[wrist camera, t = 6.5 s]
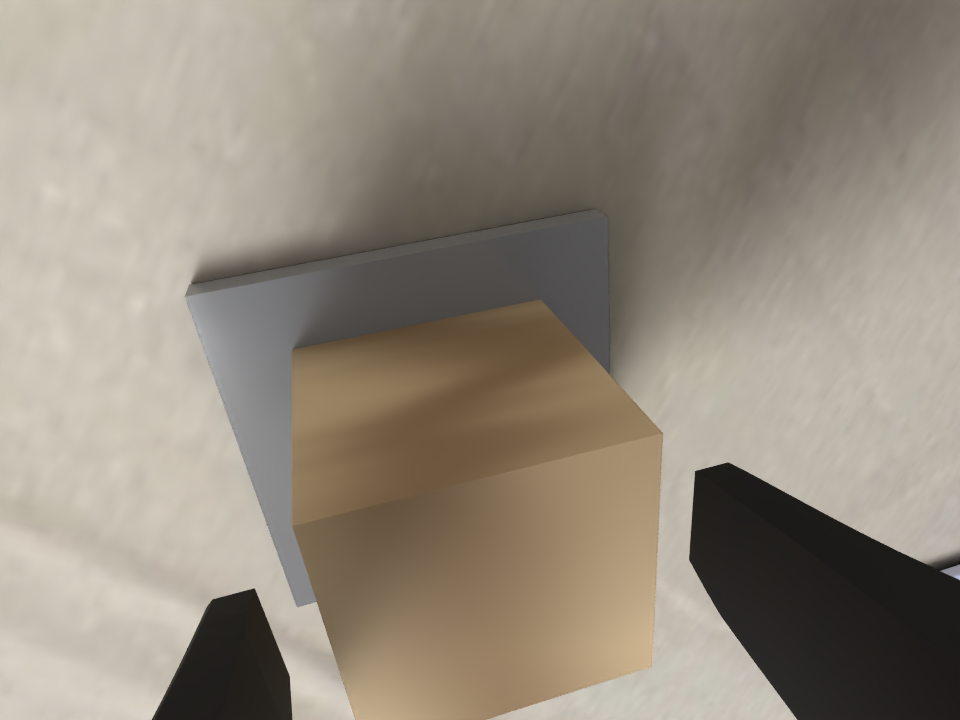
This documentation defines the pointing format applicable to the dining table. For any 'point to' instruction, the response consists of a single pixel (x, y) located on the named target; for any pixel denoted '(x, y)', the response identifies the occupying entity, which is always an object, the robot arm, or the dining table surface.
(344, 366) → the oak block
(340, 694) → the dining table surface
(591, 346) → the slate coaster
